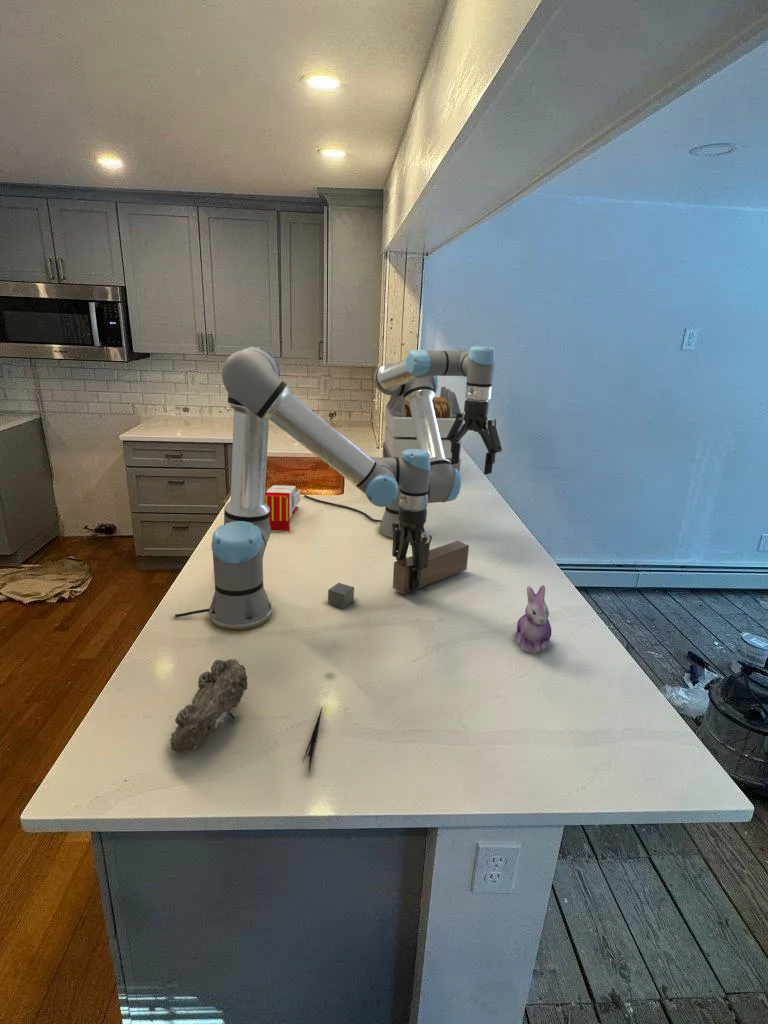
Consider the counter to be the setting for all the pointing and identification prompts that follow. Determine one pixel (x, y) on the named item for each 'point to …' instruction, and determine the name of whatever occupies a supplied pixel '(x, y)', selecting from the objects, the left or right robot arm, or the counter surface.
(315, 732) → the feather
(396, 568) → the walnut beam
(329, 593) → the slate block
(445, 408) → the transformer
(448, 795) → the counter surface
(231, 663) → the fossil
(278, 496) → the toy
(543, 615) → the figurine
